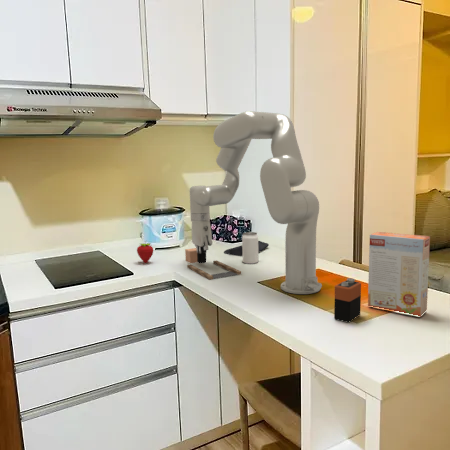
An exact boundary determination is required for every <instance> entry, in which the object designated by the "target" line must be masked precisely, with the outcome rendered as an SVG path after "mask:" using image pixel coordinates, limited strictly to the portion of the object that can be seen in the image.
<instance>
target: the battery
mask: <svg viewBox="0 0 450 450" xmlns="http://www.w3.org/2000/svg"><path fill="white" fill-rule="evenodd" d="M361 295H362V283H361V282H359V281H356V279H355V278H353V277H349V278H346V280H345V281H342V282H340V283H337V284H335V285H334V305H333V306H334V313H333V315H334V317H333V318H334V319H335V320H337V319H339V320H338V321H341V320H343V321H342V322H344V321H347V322H346V323H350V322H352V321H353V320H355V319H356V318H355V317H357V316H358V315H360V316H361V304H362V302H361V299H362V298H361V297H362V296H361ZM358 317H359V316H358ZM358 317H357V318H358ZM354 318H355V319H354ZM352 319H353V320H352ZM351 320H352V321H351ZM349 321H350V322H349Z"/></svg>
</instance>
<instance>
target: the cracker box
mask: <svg viewBox="0 0 450 450" xmlns="http://www.w3.org/2000/svg"><path fill="white" fill-rule="evenodd" d="M430 241H431V236H428V235H419V234H407V233H396V232H386V231H385V232H383V231H376V232H374V233H370V234H369V246H368V247H369V248H368V249H369V250H368V251H369V254H368V281H367V283H368V285H367V286H368V287H367V291H368V292H367V307H368V306H373V307H379V308H384V309H389V310H394V311H399V312H404V313H409V314H413V315H418V316H421V315H422V314H423V313H424V312H425V311H426V310H428V292H429V268H430V245H431V243H430Z"/></svg>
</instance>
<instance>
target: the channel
mask: <svg viewBox="0 0 450 450" xmlns="http://www.w3.org/2000/svg"><path fill="white" fill-rule="evenodd" d="M213 265H215V266H218V267H219V268H221V269H224V270H226V271H225V272H218V273H211V274H210V273H208V272H206V271H204V270H202V269H200V268H199V267H196V266H194V265H193V264H192V263H189V264H187V265H186V268H187V269H189V270H190V271H191V272H194V273H196V274H198V275H199V276H200V277H201V276H202V277H203V278H205V279H207V280H209V281H212V280H217V279H223V278H230V277H235V276H240V275H242V270H239V269H237V268H235V267H232V266H230V265H228V264H226V263H223V262H221V261H219V260H213Z"/></svg>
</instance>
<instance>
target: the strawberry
mask: <svg viewBox="0 0 450 450" xmlns="http://www.w3.org/2000/svg"><path fill="white" fill-rule="evenodd" d="M144 242H145V243H140V245H139V246H138V247H137V248H136V253H137V255H138V257H139V258H140V259H141V260H142V262H143V263H144V264H147V263H149V261H150V259H151V258H152V256H153V254H154V247H153V246H152V242H150V243H149V242H148V243H147V241H144Z"/></svg>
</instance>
